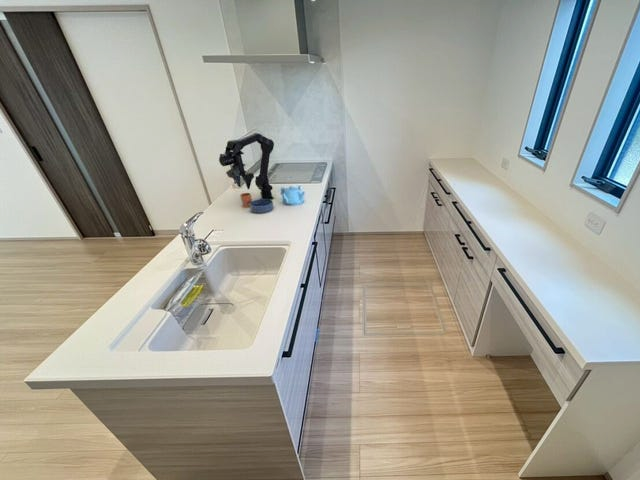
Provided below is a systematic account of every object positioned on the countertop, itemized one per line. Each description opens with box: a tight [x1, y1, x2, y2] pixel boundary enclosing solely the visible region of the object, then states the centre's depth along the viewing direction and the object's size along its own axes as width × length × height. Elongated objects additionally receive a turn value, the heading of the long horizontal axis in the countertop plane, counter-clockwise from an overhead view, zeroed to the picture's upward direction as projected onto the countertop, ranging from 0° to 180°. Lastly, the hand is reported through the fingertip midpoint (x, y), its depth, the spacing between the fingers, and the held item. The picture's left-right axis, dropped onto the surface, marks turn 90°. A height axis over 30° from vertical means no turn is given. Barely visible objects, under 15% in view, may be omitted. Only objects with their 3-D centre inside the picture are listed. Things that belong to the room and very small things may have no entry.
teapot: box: [280, 185, 306, 206], centre depth 207 cm, size 15×15×11 cm
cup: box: [239, 192, 253, 208], centre depth 203 cm, size 6×6×8 cm
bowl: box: [249, 198, 274, 214], centre depth 197 cm, size 14×14×5 cm
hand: (243, 187), depth 199 cm, fingers open, 9 cm apart
